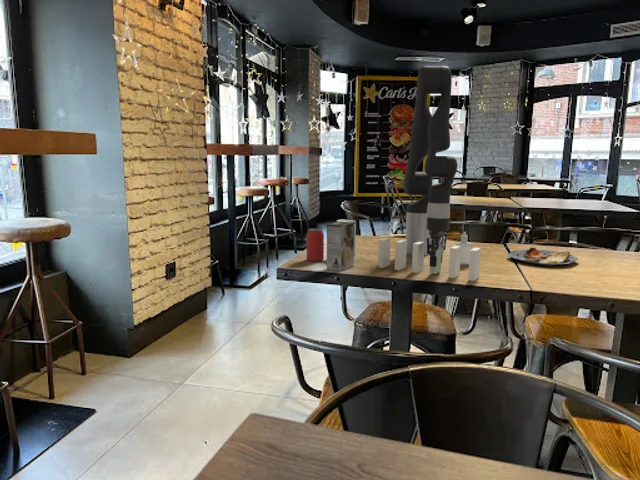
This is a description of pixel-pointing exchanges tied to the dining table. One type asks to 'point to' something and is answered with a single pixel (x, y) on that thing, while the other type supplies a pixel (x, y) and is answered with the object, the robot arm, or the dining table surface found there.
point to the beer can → (315, 245)
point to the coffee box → (340, 245)
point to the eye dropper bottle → (464, 249)
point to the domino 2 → (400, 254)
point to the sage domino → (438, 267)
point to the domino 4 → (454, 261)
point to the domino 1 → (384, 252)
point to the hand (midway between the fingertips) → (435, 264)
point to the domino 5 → (474, 264)
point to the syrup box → (354, 228)
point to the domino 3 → (418, 257)
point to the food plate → (543, 257)
